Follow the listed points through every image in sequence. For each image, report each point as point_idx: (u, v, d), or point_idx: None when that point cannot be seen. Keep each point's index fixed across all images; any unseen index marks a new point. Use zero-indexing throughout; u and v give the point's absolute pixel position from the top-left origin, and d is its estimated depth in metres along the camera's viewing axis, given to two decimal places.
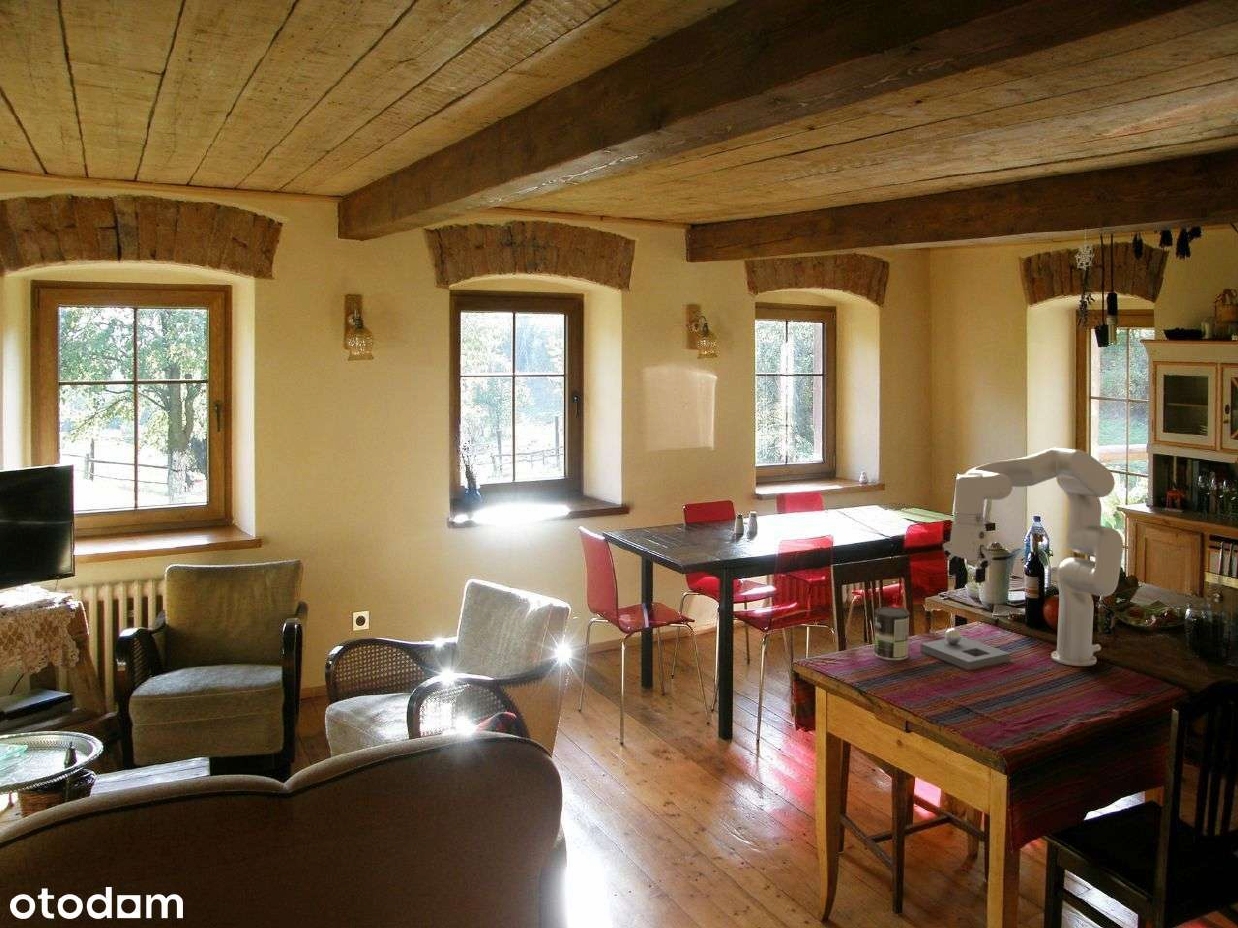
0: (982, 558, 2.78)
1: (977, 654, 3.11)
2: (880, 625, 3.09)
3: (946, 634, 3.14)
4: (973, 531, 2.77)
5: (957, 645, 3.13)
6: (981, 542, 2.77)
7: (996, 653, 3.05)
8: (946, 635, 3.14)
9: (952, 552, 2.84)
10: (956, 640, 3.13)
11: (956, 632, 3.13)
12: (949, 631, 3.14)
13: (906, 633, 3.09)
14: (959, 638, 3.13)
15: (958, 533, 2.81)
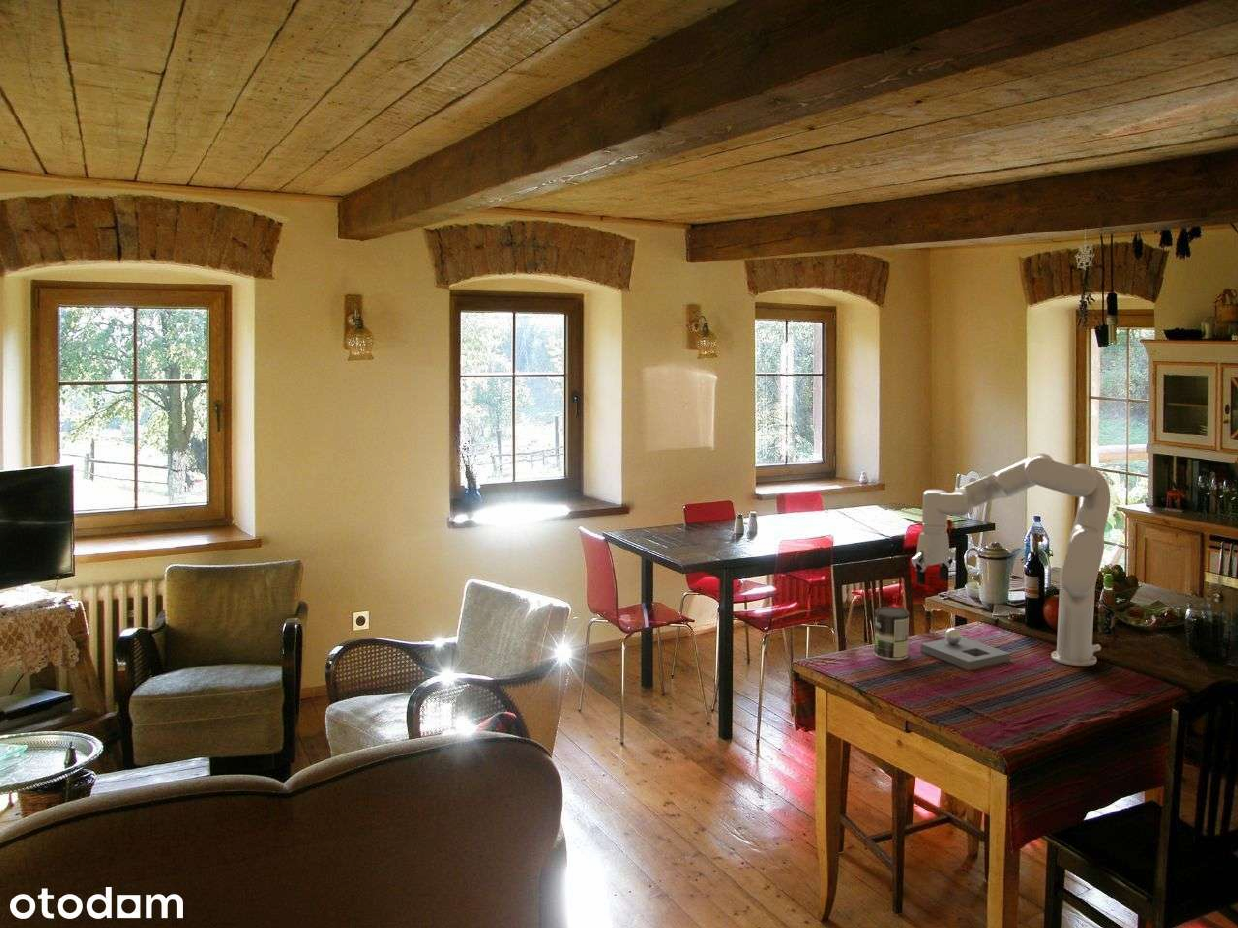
0: None
1: (977, 654, 3.11)
2: (880, 625, 3.09)
3: (946, 634, 3.14)
4: (947, 537, 3.19)
5: (957, 645, 3.13)
6: None
7: (996, 653, 3.05)
8: (946, 635, 3.14)
9: (929, 562, 3.17)
10: (956, 640, 3.13)
11: (956, 632, 3.13)
12: (949, 631, 3.14)
13: (906, 633, 3.09)
14: (959, 638, 3.13)
15: (936, 544, 3.17)
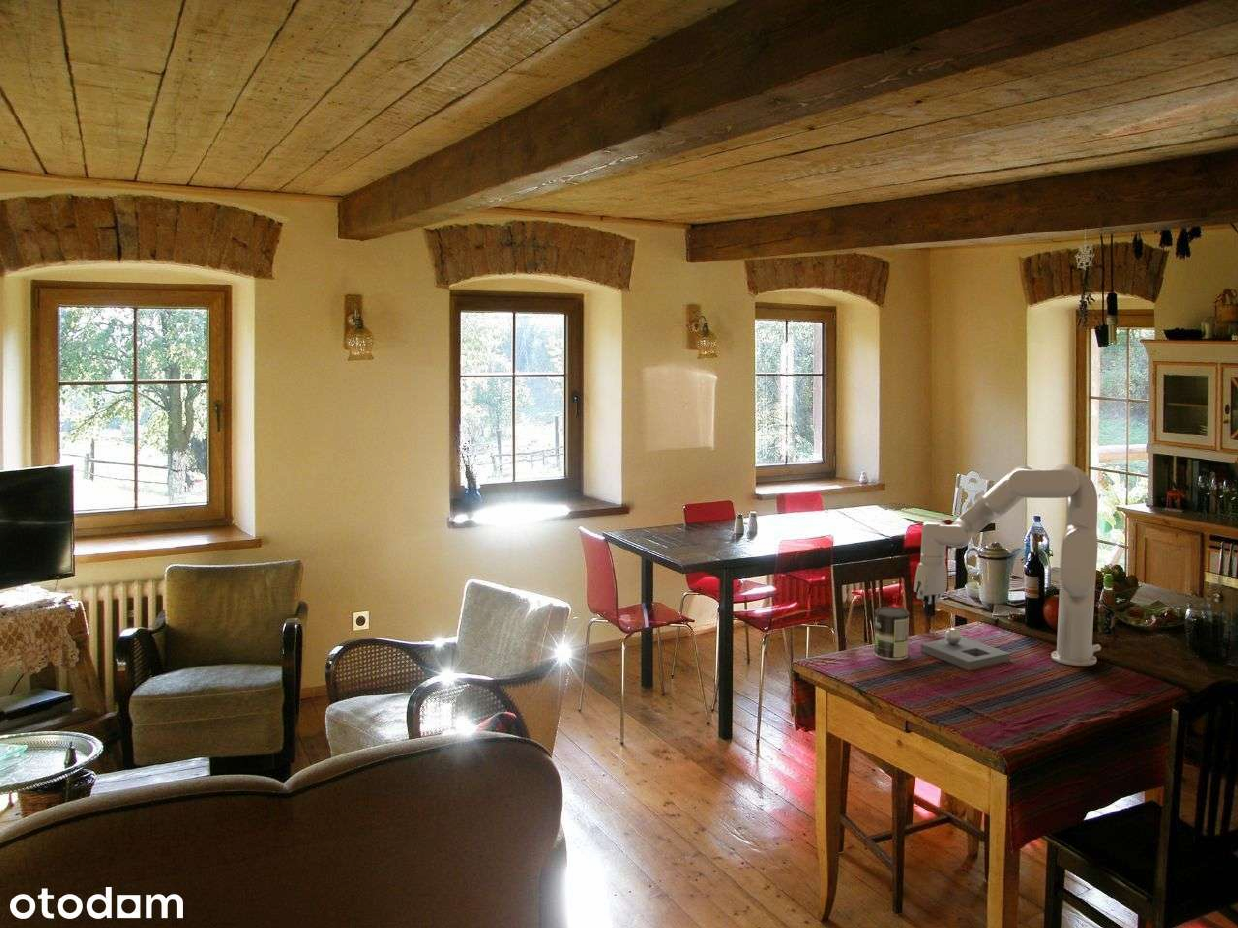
0: None
1: (977, 654, 3.11)
2: (880, 625, 3.09)
3: (946, 634, 3.14)
4: (945, 568, 3.21)
5: (957, 645, 3.13)
6: None
7: (996, 653, 3.05)
8: (946, 635, 3.14)
9: (927, 593, 3.19)
10: (956, 640, 3.13)
11: (956, 632, 3.13)
12: (949, 631, 3.14)
13: (906, 633, 3.09)
14: (959, 638, 3.13)
15: (934, 574, 3.18)
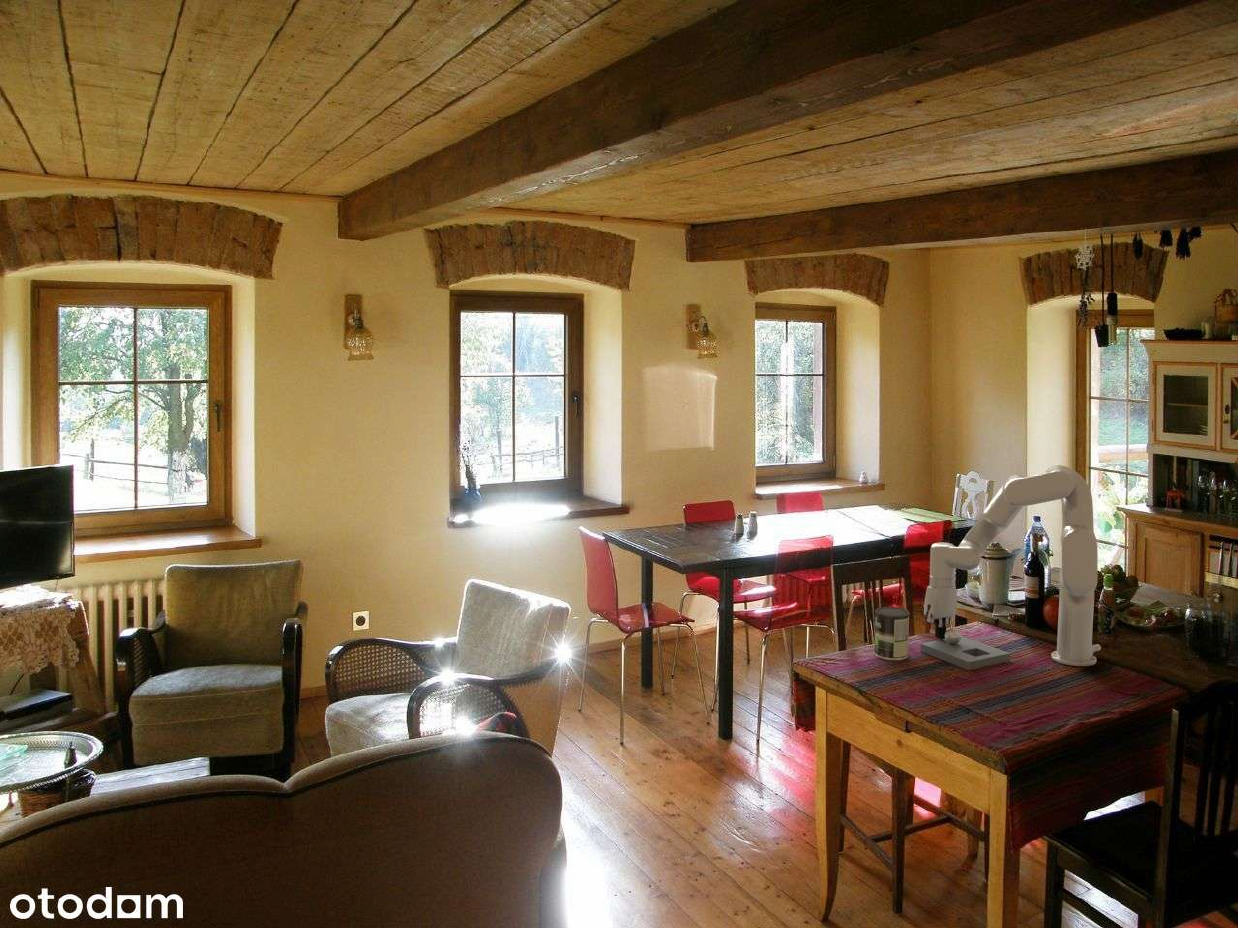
0: None
1: (977, 654, 3.11)
2: (880, 625, 3.09)
3: (946, 634, 3.14)
4: (955, 590, 3.18)
5: (957, 645, 3.13)
6: None
7: (996, 653, 3.05)
8: (946, 635, 3.14)
9: (937, 616, 3.16)
10: (956, 640, 3.13)
11: (956, 632, 3.13)
12: (949, 631, 3.14)
13: (906, 633, 3.09)
14: (959, 638, 3.13)
15: (944, 597, 3.15)
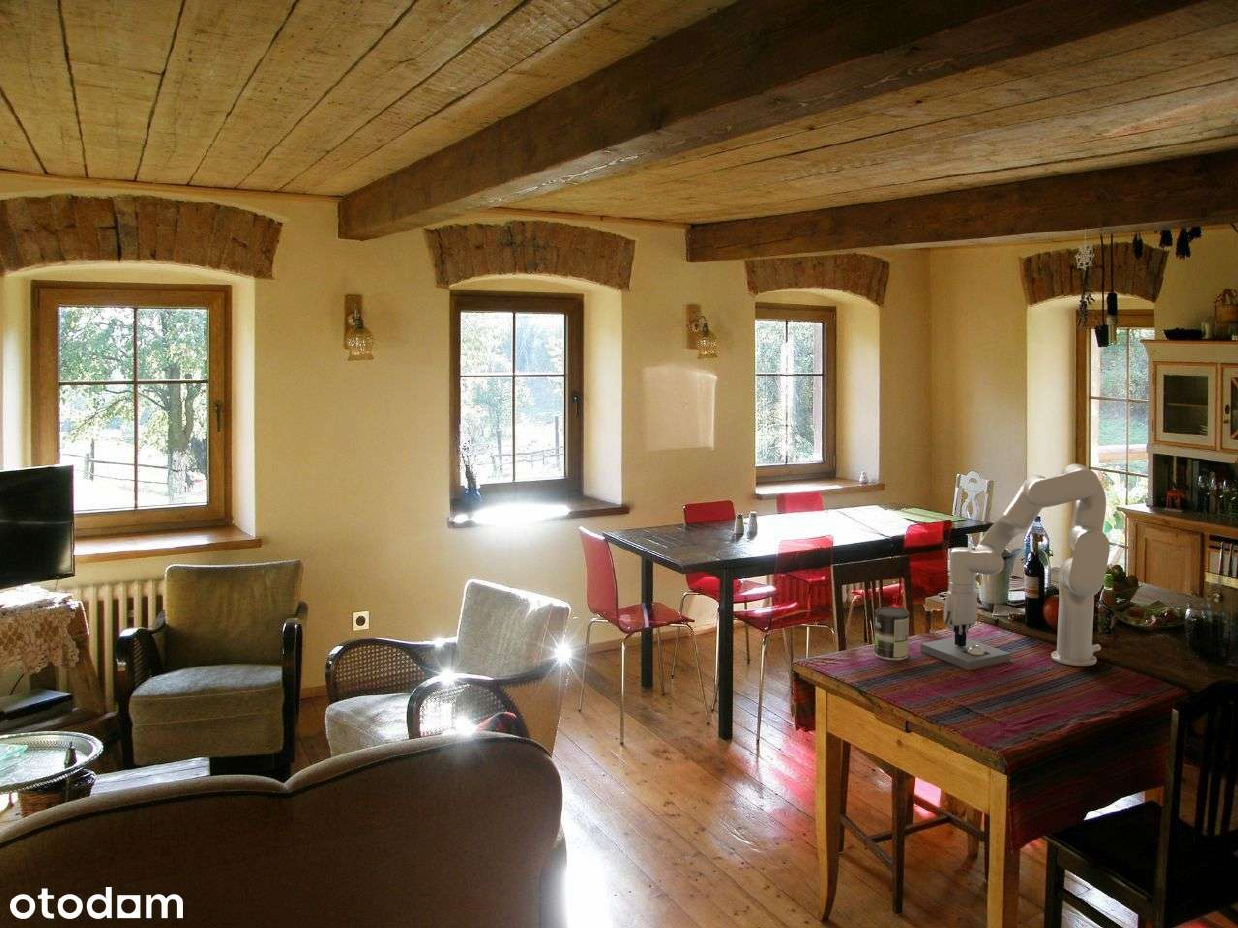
0: None
1: None
2: (880, 625, 3.09)
3: None
4: (975, 596, 3.10)
5: (957, 645, 3.13)
6: None
7: (996, 653, 3.05)
8: (969, 654, 3.06)
9: (957, 622, 3.08)
10: (975, 645, 3.06)
11: None
12: None
13: (906, 633, 3.09)
14: None
15: (964, 603, 3.08)
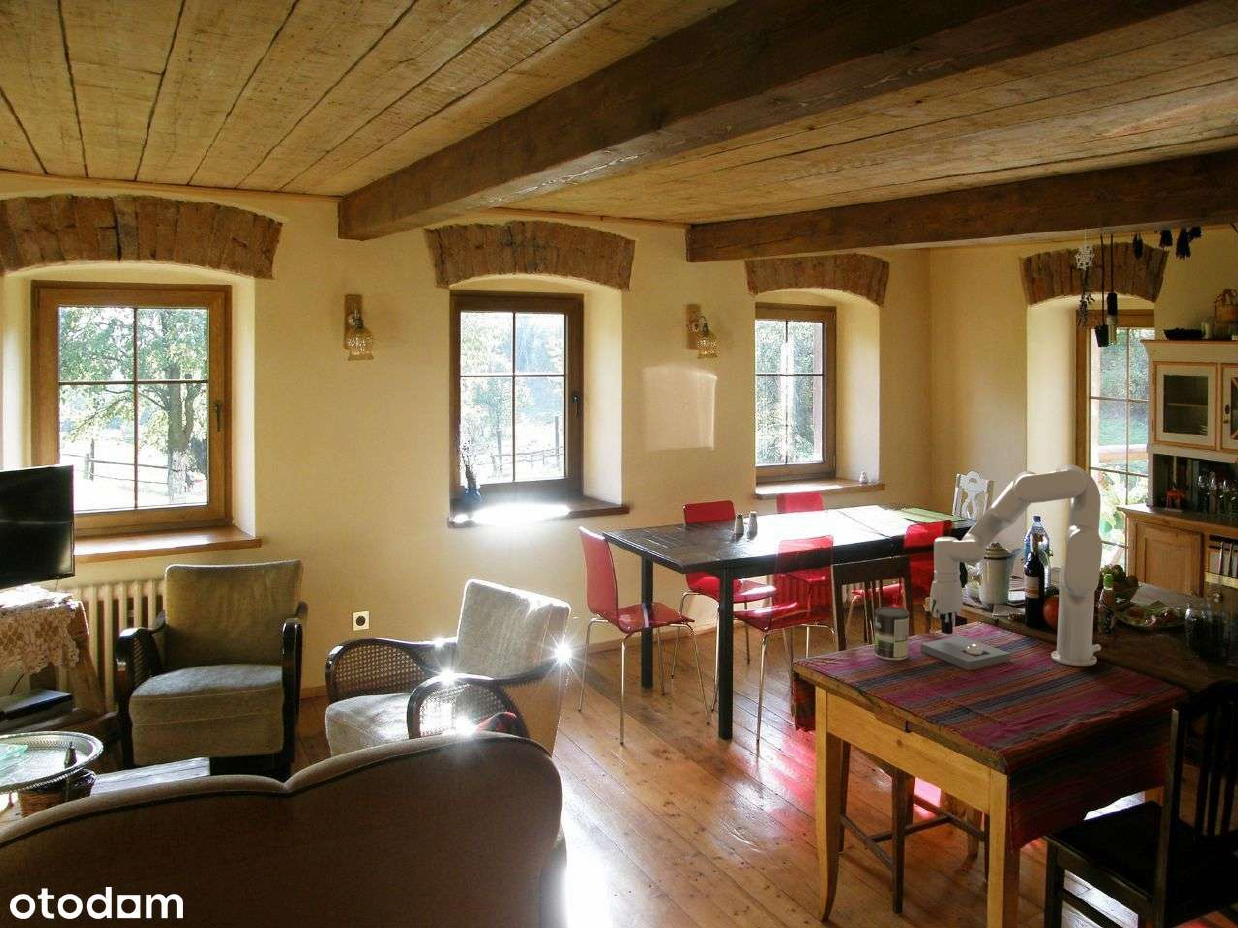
0: None
1: None
2: (880, 625, 3.09)
3: None
4: (960, 584, 3.16)
5: (957, 645, 3.13)
6: None
7: (996, 653, 3.05)
8: None
9: (943, 611, 3.14)
10: (971, 644, 3.07)
11: None
12: None
13: (906, 633, 3.09)
14: None
15: (949, 592, 3.14)
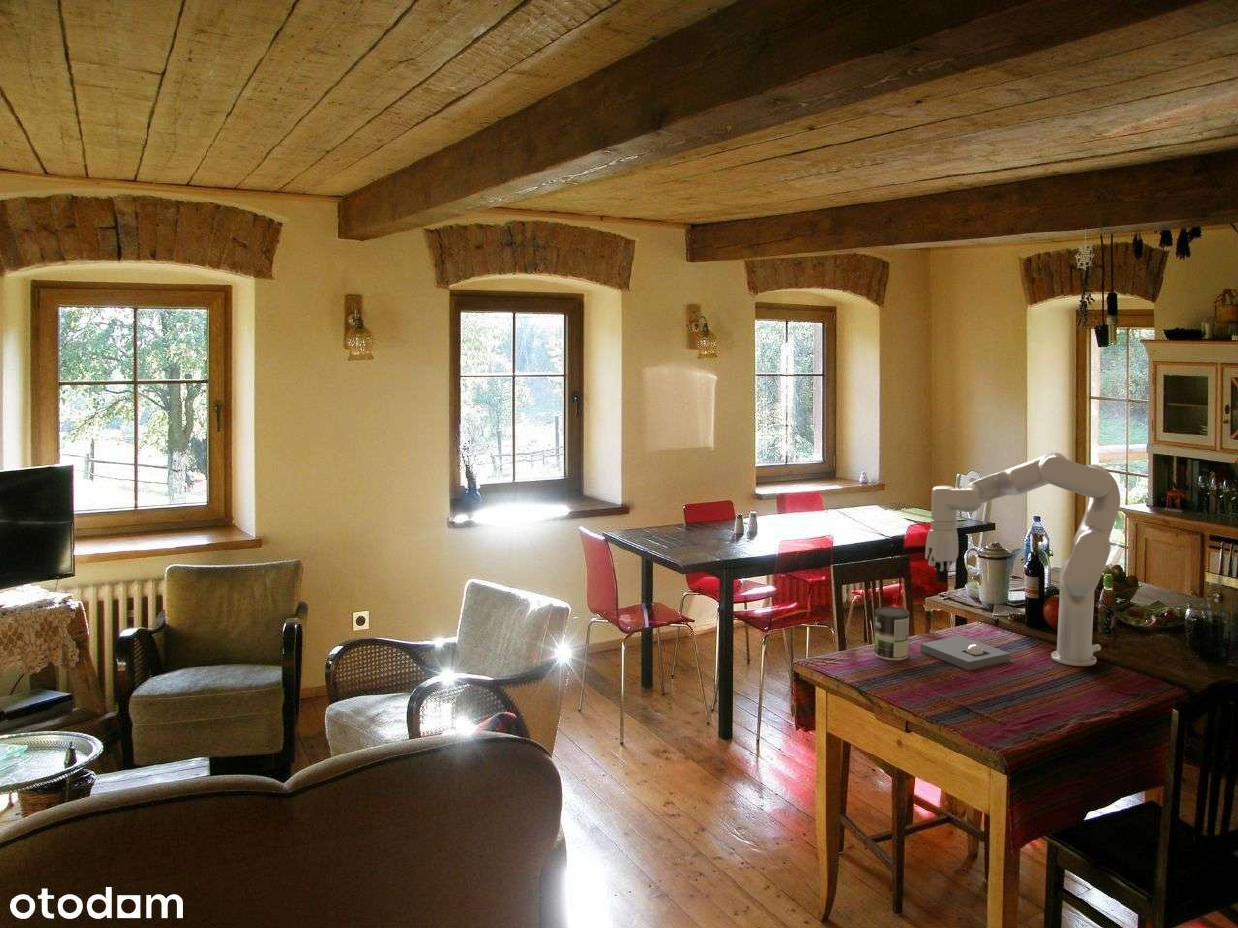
0: None
1: None
2: (880, 625, 3.09)
3: None
4: None
5: (957, 645, 3.13)
6: None
7: (996, 653, 3.05)
8: None
9: (938, 559, 3.13)
10: (972, 644, 3.07)
11: None
12: None
13: (906, 633, 3.09)
14: (974, 644, 3.08)
15: (945, 540, 3.13)
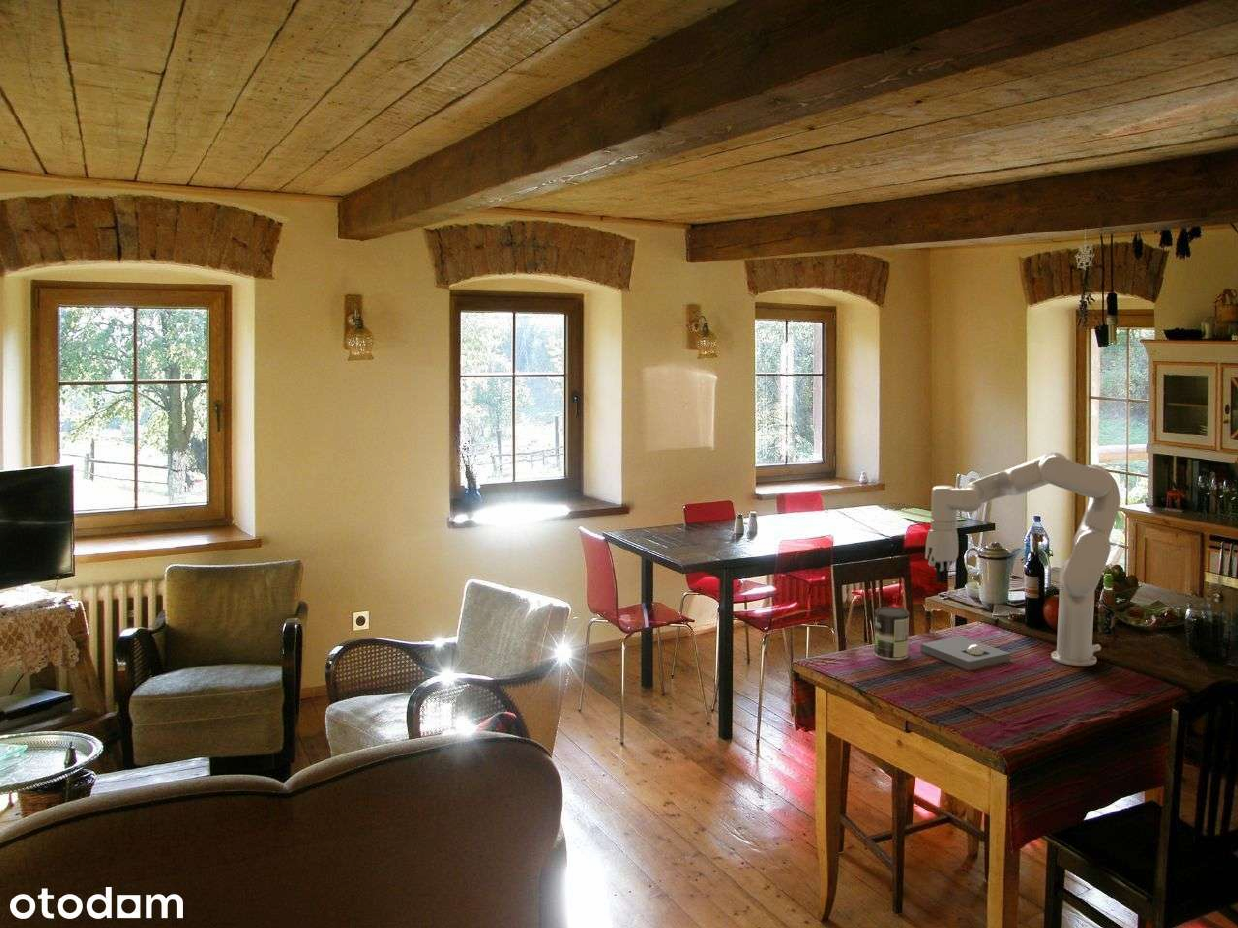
0: None
1: None
2: (880, 625, 3.09)
3: None
4: None
5: (957, 645, 3.13)
6: None
7: (996, 653, 3.05)
8: None
9: (938, 559, 3.13)
10: (973, 644, 3.06)
11: None
12: None
13: (906, 633, 3.09)
14: (975, 644, 3.07)
15: (945, 540, 3.13)
